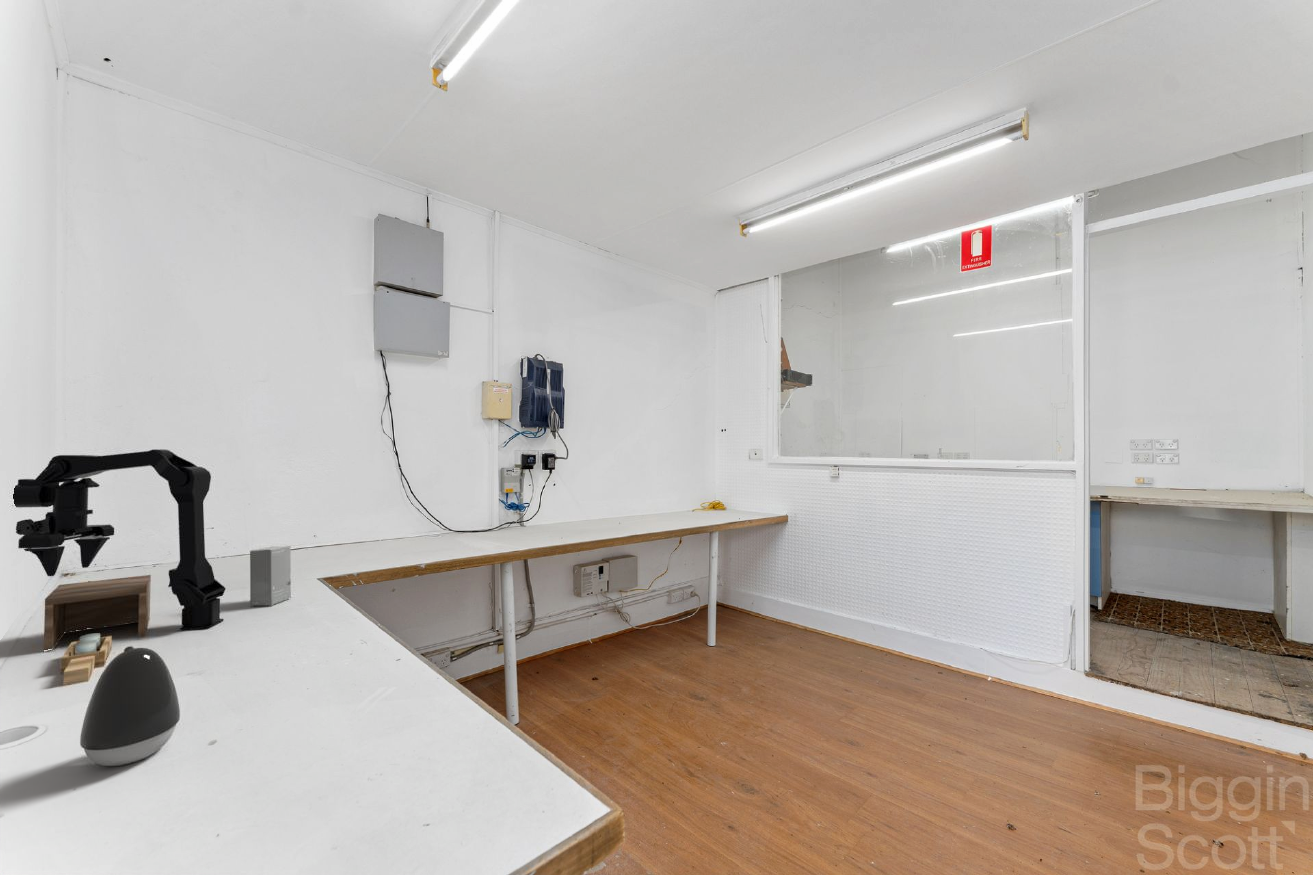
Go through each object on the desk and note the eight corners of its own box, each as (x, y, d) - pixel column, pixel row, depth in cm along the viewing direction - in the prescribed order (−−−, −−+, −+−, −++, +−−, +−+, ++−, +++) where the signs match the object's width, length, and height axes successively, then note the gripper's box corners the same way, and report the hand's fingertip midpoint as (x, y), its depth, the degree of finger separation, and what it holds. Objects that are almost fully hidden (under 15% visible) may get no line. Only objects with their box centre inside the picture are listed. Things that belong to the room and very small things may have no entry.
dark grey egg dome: (171, 729, 84) (174, 631, 84) (185, 752, 77) (188, 647, 78) (76, 758, 76) (79, 650, 76) (82, 787, 69) (85, 669, 70)
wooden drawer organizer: (145, 635, 126) (146, 586, 127) (43, 652, 116) (45, 598, 116) (149, 619, 139) (150, 574, 139) (57, 633, 128) (59, 584, 128)
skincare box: (271, 606, 150) (272, 550, 150) (246, 606, 150) (247, 550, 150) (292, 598, 158) (293, 544, 159) (269, 598, 159) (270, 544, 159)
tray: (98, 678, 102) (99, 655, 103) (52, 687, 99) (52, 663, 99) (111, 649, 118) (111, 628, 118) (71, 656, 114) (71, 635, 114)
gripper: (65, 503, 137) (63, 564, 136) (-11, 511, 118) (-13, 582, 118) (116, 502, 139) (115, 563, 138) (49, 510, 120) (47, 580, 120)
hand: (68, 571), depth 128 cm, fingers open, 9 cm apart
